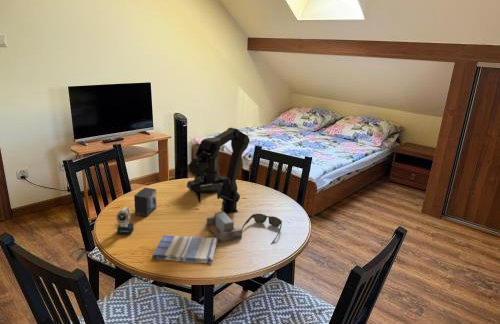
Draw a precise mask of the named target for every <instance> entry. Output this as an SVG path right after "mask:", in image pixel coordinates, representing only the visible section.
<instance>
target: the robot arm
mask: <svg viewBox="0 0 500 324" xmlns="http://www.w3.org/2000/svg"><path fill="white" fill-rule="evenodd" d="M228 142H230V146H231V149H232V153H231V157H230V161H229V164H228V169H227V173H226V175H225V174H223V175H220V176H218V177H217V179H216V174H217V171H216V157H218V158H219V154H218V152H219V151H220V150H221V147H222V146H224V145H225V144H227V143H228ZM249 143H250V138H249V135H247V134H246V133H243V132H242V131H240V129H238V128H234V127H228V128H227V129H226V130H224V131H222V132H221V133H219V134H217V135H215V136H214V137H207V138H203V139H202V140H201V141H200V143H199V146H198V148H197V150H196V153H195V157H193V158H192V160H191V161H190V162H189V165H188V170H189V172H190V173H191V174H192V175H193V177H194V178H195V177H198V179H199V178H200V180H202V181H203V182H197V181H196V180H194V179H193V180H189V181H187V183H186V188H187V189H189V191H190V192H193V193H194V194H195V197H196V199H197V202H198V203H199V204H201V200H202V198H201V197H202V193H201V190H199V189H200V187H201V186H207V185H212V184H217V186H218V189H217V192H216V198H217V200H220V199H221V200H222V202H221V210H222V212H224V213H225V214H227V215H229V214H234V213H238V212H239V210H238V209H237V203H238V202H239V201H240V199H241V195H240V194H239V193H238V185H237V178H238V172H239V168H240V164H241V161H242V158H243V157H242V156H243V154H244V152H245V151H246V150H247V149H248V146H249ZM202 152H205V153H209V154H205V153H202ZM196 156H198V157H197V158H196Z"/></svg>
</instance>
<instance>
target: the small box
mask: <svg viewBox="0 0 500 324" xmlns="http://www.w3.org/2000/svg"><path fill="white" fill-rule="evenodd" d="M133 197H134V216H137V217H143V218H144V217H145V218H147V217H148V216H149V215H150V214H152V213H153V212H154V211H155V210H156V209H157V189H156V188H150V187H143V189H141V190H140V191H138V192H137V193H135V194H134V196H133Z"/></svg>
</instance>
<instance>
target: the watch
mask: <svg viewBox="0 0 500 324" xmlns="http://www.w3.org/2000/svg"><path fill="white" fill-rule="evenodd" d="M115 218H116V221H117V224H118V226H117V228H116V230H117V235H124V236H127V235H128V236H131V235H132V233H133V232H134V230H135V229H134V228H135V227H134V223H132V222H131V223H130V220H131V212H130V208H129V207H122V208H120V210H119V211H118V213H117V214H116V217H115Z"/></svg>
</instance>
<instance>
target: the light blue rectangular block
mask: <svg viewBox="0 0 500 324" xmlns="http://www.w3.org/2000/svg"><path fill="white" fill-rule="evenodd" d="M227 215H228V214H227ZM227 215H226V213H225V212H224V211H219V212H214V216H215V226H216V227H217V228H218V229H219V230H220V232H221V233H222V232H227V231H231V230H233V229H234V228H235V227H234V225H235V222H234V221H233V220H232V219H231V217H229V215H228V216H227Z"/></svg>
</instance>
